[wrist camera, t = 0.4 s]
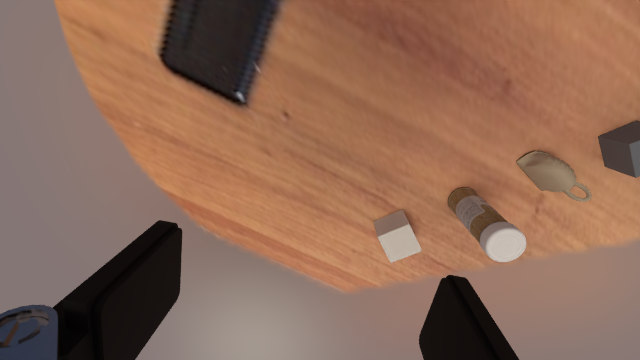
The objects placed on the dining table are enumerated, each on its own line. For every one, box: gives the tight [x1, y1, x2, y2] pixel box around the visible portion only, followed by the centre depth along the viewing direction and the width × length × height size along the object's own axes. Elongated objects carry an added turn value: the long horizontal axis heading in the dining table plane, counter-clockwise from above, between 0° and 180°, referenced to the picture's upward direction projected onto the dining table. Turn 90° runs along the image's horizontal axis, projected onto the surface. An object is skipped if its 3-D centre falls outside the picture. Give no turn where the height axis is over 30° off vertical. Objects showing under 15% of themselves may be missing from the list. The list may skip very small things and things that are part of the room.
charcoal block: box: [598, 121, 640, 178], centre depth 41 cm, size 5×5×5 cm
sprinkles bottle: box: [448, 188, 526, 262], centre depth 41 cm, size 5×5×14 cm
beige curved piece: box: [516, 151, 591, 202], centre depth 43 cm, size 4×8×5 cm, turn 45°
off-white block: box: [374, 209, 422, 263], centre depth 47 cm, size 5×5×5 cm
